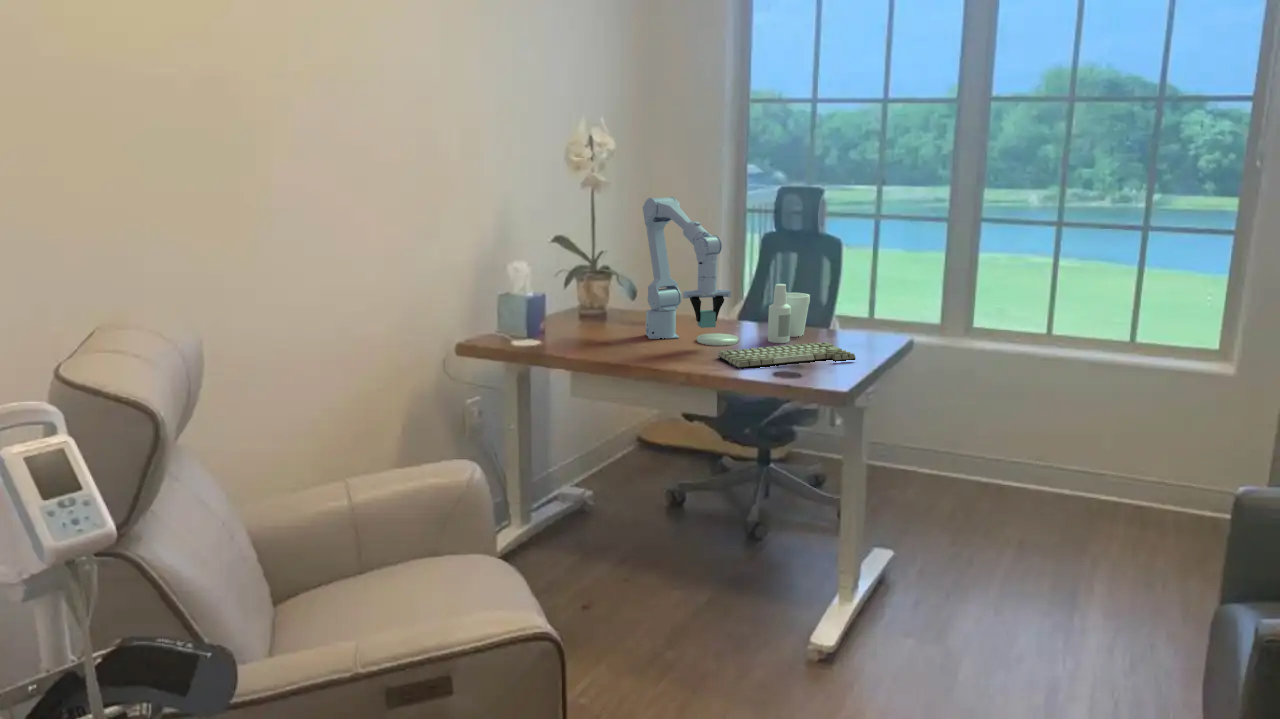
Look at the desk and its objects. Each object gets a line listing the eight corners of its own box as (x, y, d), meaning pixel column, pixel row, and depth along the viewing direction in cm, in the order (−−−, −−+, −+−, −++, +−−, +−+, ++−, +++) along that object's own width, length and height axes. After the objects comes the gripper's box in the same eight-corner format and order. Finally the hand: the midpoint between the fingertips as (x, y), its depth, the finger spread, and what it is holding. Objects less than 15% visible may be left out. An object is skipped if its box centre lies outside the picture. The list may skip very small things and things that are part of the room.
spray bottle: (788, 344, 315) (791, 286, 311) (766, 343, 316) (768, 285, 312) (790, 339, 321) (792, 283, 317) (768, 338, 323) (770, 282, 319)
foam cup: (809, 337, 324) (811, 297, 321) (780, 337, 324) (782, 297, 321) (805, 331, 333) (807, 292, 330) (777, 331, 334) (779, 292, 331)
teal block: (701, 327, 305) (701, 313, 303) (697, 324, 309) (697, 310, 308) (715, 327, 305) (715, 312, 304) (711, 324, 310) (712, 309, 309)
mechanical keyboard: (742, 374, 279) (742, 362, 279) (713, 360, 297) (713, 348, 296) (860, 364, 292) (861, 352, 291) (826, 351, 310) (827, 340, 309)
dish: (702, 346, 311) (702, 342, 311) (692, 337, 323) (692, 334, 323) (743, 344, 313) (743, 341, 313) (732, 336, 326) (732, 332, 325)
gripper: (686, 279, 299) (686, 324, 302) (734, 277, 301) (733, 322, 304) (681, 275, 305) (680, 319, 308) (728, 274, 308) (727, 318, 311)
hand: (706, 321), depth 307 cm, fingers closed on teal block, 4 cm apart
